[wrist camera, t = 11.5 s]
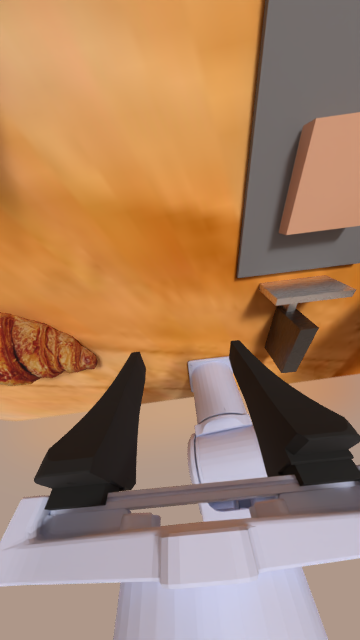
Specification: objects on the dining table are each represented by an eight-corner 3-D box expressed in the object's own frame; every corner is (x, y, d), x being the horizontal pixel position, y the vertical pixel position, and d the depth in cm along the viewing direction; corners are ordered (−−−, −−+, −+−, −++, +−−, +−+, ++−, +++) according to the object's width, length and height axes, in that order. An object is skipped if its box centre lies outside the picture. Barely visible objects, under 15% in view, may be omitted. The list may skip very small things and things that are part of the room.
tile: (363, 225, 15) (423, 103, 11) (286, 235, 15) (316, 118, 11) (348, 223, 16) (397, 113, 12) (277, 232, 16) (301, 126, 12)
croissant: (-37, 318, 24) (-84, 372, 21) (-124, 275, 16) (-230, 355, 12) (107, 348, 29) (90, 396, 25) (101, 327, 20) (74, 396, 17)
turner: (294, 343, 27) (317, 369, 23) (246, 349, 27) (260, 375, 23) (325, 275, 20) (365, 294, 16) (259, 283, 20) (283, 304, 16)
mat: (356, 261, 19) (360, 263, 18) (236, 276, 19) (237, 278, 19) (548, -99, 8) (568, -116, 8) (271, -54, 8) (276, -66, 8)
